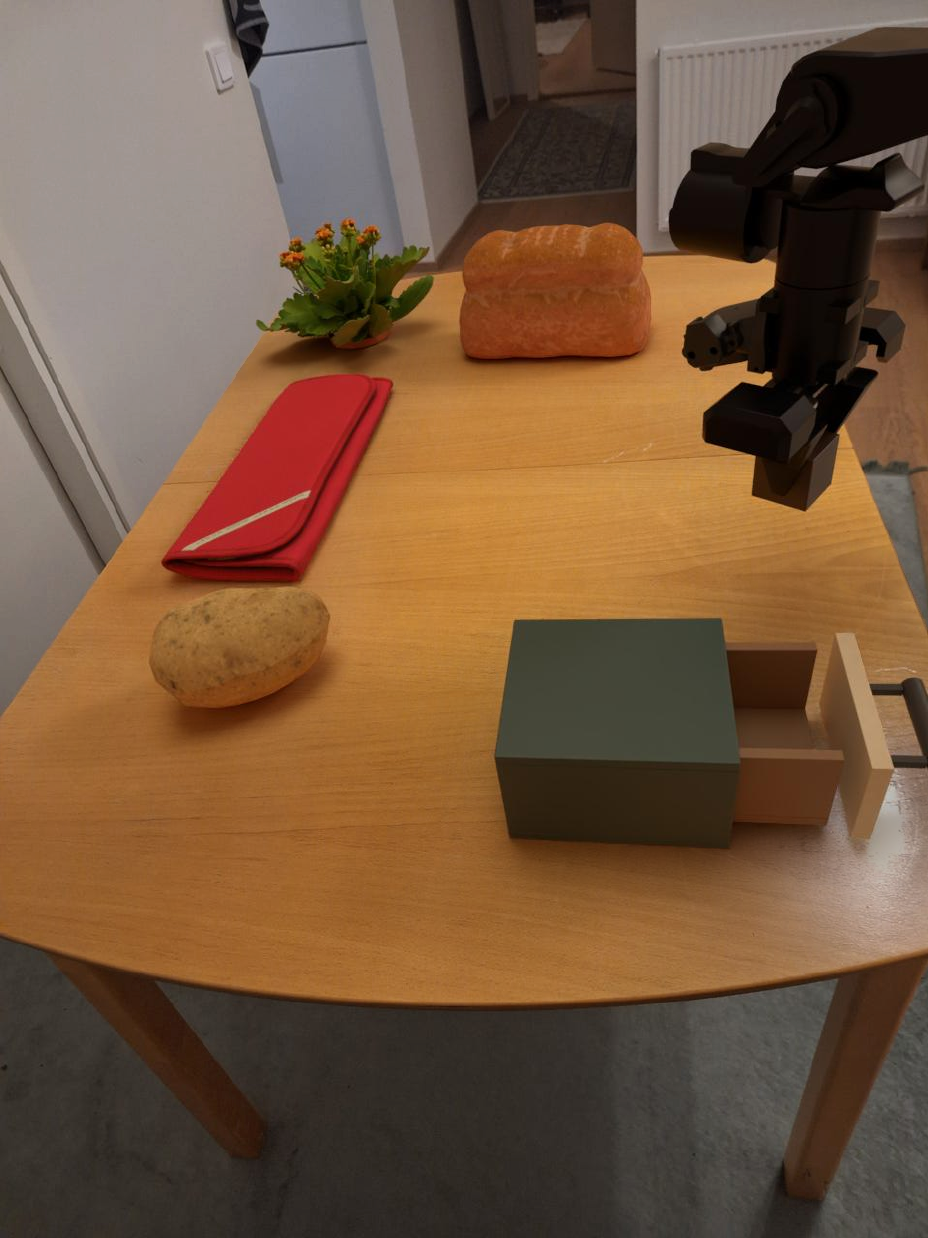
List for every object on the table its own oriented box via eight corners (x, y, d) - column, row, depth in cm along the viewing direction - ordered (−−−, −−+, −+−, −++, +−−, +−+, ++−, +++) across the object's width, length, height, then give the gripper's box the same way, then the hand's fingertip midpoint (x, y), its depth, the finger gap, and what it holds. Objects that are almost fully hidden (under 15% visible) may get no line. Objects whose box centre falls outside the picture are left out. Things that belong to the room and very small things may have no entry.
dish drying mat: (397, 389, 110) (392, 363, 108) (306, 583, 81) (296, 554, 78) (290, 396, 114) (282, 371, 111) (166, 584, 84) (152, 556, 82)
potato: (197, 650, 76) (157, 572, 69) (347, 637, 74) (320, 555, 68) (164, 734, 68) (116, 654, 62) (330, 721, 66) (298, 638, 60)
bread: (478, 325, 123) (464, 218, 113) (654, 319, 115) (656, 205, 105) (455, 365, 113) (437, 253, 103) (645, 362, 106) (645, 241, 96)
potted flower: (349, 299, 139) (323, 188, 127) (470, 307, 128) (453, 187, 117) (259, 364, 124) (220, 245, 112) (387, 379, 113) (358, 249, 102)
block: (777, 469, 65) (783, 420, 62) (831, 483, 63) (840, 433, 60) (750, 495, 63) (755, 446, 60) (805, 512, 61) (813, 461, 58)
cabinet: (713, 704, 62) (722, 617, 56) (729, 849, 53) (741, 763, 47) (525, 702, 65) (513, 619, 59) (509, 838, 56) (493, 757, 50)
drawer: (900, 705, 58) (923, 632, 54) (945, 843, 50) (977, 771, 45) (648, 701, 62) (649, 633, 57) (652, 830, 54) (653, 762, 49)
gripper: (773, 216, 61) (755, 404, 71) (634, 309, 52) (636, 509, 62) (929, 229, 55) (884, 433, 65) (800, 337, 46) (772, 555, 56)
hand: (793, 479), depth 62 cm, fingers closed on block, 4 cm apart
